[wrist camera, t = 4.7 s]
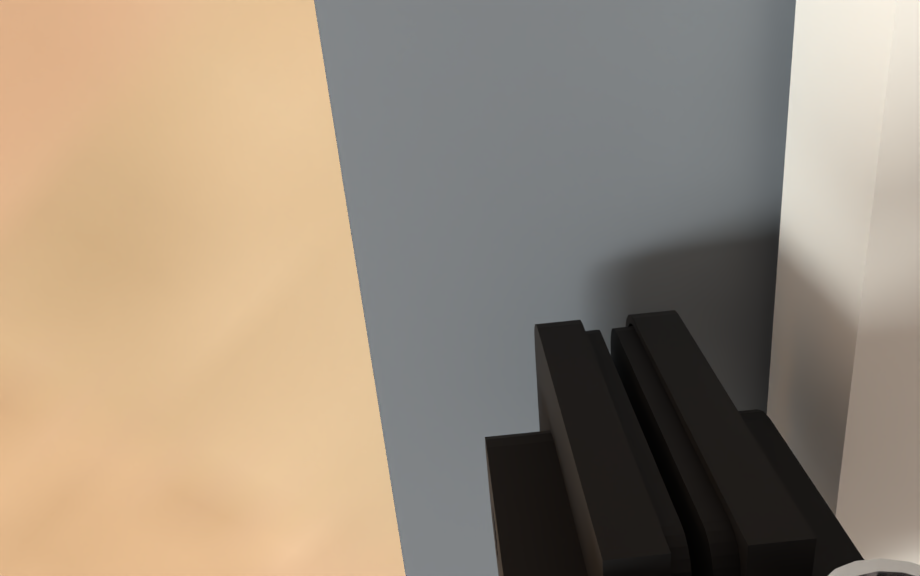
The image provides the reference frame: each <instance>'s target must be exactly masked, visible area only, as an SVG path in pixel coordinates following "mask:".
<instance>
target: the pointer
mask: <svg viewBox="0 0 920 576" xmlns="http://www.w3.org/2000/svg"><path fill="white" fill-rule="evenodd" d="M767 416H768V417H769V418H770V419H771V421H772V422H773V424H774V425H775V427H776V428H777V430H778V431H779V433H780V434H781V436H782V437H783V439H784V440H785V442H786V443H787V445H788V446H789V448H790V449H791V451H792V452H793V454H794V455H795V457H796V458H797V460H798V461H799V463H800V464H801V466H802V467H803V469H804V470H805V472H806V473H807V475H808V476H809V478H810V479H811V481H812V482H813V484H814V485H815V487H816V488H817V490H818V491H819V493H820V494H821V496H822V497H823V499H824V500H825V502H826V503H827V505H828V506H829V508H830V509H831V511H832V512H833V514H834V515H835V517H836V518H837V520H838V521H839V523H840V524H841V526H842V527H843V529H844V530H845V532H846V533H847V535H848V536H849V538H850V539H851V541H852V542H853V544H854V545H855V547H856V548H857V550H858V551H859V553H860V554H861V556H862V557H863V559H864V560H870V559H880V558H881V559H890V560H899V561H907V562H912V563H915V564H918V565H920V0H796V9H795V23H794V37H793V51H792V65H791V79H790V93H789V107H788V121H787V135H786V149H785V163H784V177H783V192H782V206H781V220H780V234H779V248H778V262H777V276H776V290H775V304H774V318H773V332H772V346H771V360H770V374H769V388H768V402H767Z"/></svg>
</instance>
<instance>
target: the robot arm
mask: <svg viewBox="0 0 920 576" xmlns="http://www.w3.org/2000/svg"><path fill="white" fill-rule="evenodd" d="M534 340H535V358H536V376H537V393H538V411H539V428H540V431H539V432H529V433H519V434H509V435H500V436H490V437H485V448H486V460H487V471H488V482H489V493H490V503H491V513H492V523H493V532H494V541H495V550H496V559H497V567H498V575H499V576H920V565H918V564H915V563H912V562H907V561H899V560H890V559H881V558H880V559H870V560H864V559H863V557H862V556H861V554H860V553H859V551H858V550H857V548H856V547H855V545H854V544H853V542H852V541H851V539H850V538H849V536H848V535H847V533H846V532H845V530H844V529H843V527H842V526H841V524H840V523H839V521H838V520H837V518H836V517H835V515H834V514H833V512H832V511H831V509H830V508H829V506H828V505H827V503H826V502H825V500H824V499H823V497H822V496H821V494H820V493H819V491H818V490H817V488H816V487H815V485H814V484H813V482H812V481H811V479H810V478H809V476H808V475H807V473H806V472H805V470H804V469H803V467H802V466H801V464H800V463H799V461H798V460H797V458H796V457H795V455H794V454H793V452H792V451H791V449H790V448H789V446H788V445H787V443H786V442H785V440H784V439H783V437H782V436H781V434H780V433H779V431H778V430H777V428H776V427H775V425H774V424H773V422H772V421H771V419H770V418H769V417H768V416H767V415H766V413H765V412H764V411H761V410H758V409H754V410H745V411H738V410H737V408H736V407H735V405H734V403H733V402H732V400H731V399H730V397H729V395H728V394H727V392H726V390H725V389H724V387H723V386H722V384H721V382H720V381H719V379H718V378H717V376H716V374H715V373H714V371H713V369H712V368H711V366H710V365H709V363H708V361H707V360H706V358H705V356H704V355H703V353H702V352H701V350H700V348H699V347H698V345H697V343H696V342H695V340H694V339H693V337H692V335H691V334H690V332H689V330H688V329H687V327H686V326H685V324H684V322H683V321H682V319H681V317H680V316H679V314H678V313H677V312H676V311H675V310H670V311H660V312H650V313H641V314H631V315H628V317H627V319H626V327H619V328H612V330H611V355H610V353H609V350H608V348H607V345H606V343H605V341H604V338H603V336H602V334H601V332H600V330H590V331H585V329H584V326H583V324H582V322H581V320H571V321H561V322H552V323H542V324H535V327H534Z"/></svg>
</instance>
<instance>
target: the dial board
mask: <svg viewBox="0 0 920 576" xmlns="http://www.w3.org/2000/svg"><path fill="white" fill-rule="evenodd" d="M314 3H315V9H316V15H317V22H318V28H319V34H320V41H321V47H322V53H323V59H324V66H325V72H326V78H327V84H328V91H329V97H330V103H331V110H332V116H333V122H334V128H335V135H336V141H337V147H338V153H339V160H340V166H341V172H342V179H343V185H344V191H345V197H346V204H347V210H348V216H349V222H350V229H351V235H352V241H353V248H354V254H355V260H356V266H357V273H358V279H359V285H360V291H361V298H362V304H363V310H364V317H365V323H366V329H367V335H368V342H369V348H370V354H371V360H372V367H373V373H374V379H375V386H376V392H377V398H378V404H379V411H380V417H381V423H382V429H383V436H384V442H385V448H386V455H387V461H388V467H389V473H390V480H391V486H392V492H393V498H394V505H395V511H396V517H397V524H398V530H399V536H400V542H401V549H402V555H403V561H404V567H405V574H406V576H499V575H498V567H497V559H496V550H495V541H494V532H493V523H492V513H491V503H490V493H489V482H488V471H487V460H486V448H485V437H490V436H500V435H509V434H519V433H529V432H539V431H540V428H539V411H538V393H537V376H536V358H535V340H534V327H535V324H542V323H552V322H561V321H571V320H581V322H582V324H583V326H584V329H585V331H590V330H600V332H601V334H602V336H603V338H604V341H605V343H606V345H607V348H608V350H609V353H610V355H611V330H612V328H619V327H626V319H627V317H628V315H631V314H641V313H650V312H660V311H670V310H675V311H676V312H677V313H678V314H679V316H680V317H681V319H682V321H683V322H684V324H685V326H686V327H687V329H688V330H689V332H690V334H691V335H692V337H693V339H694V340H695V342H696V343H697V345H698V347H699V348H700V350H701V352H702V353H703V355H704V356H705V358H706V360H707V361H708V363H709V365H710V366H711V368H712V369H713V371H714V373H715V374H716V376H717V378H718V379H719V381H720V382H721V384H722V386H723V387H724V389H725V390H726V392H727V394H728V395H729V397H730V399H731V400H732V402H733V403H734V405H735V407H736V408H737V410H738V411H745V410H754V409H758V410H761V411H764V412H765V413H766V415H767V402H768V388H769V374H770V360H771V346H772V332H773V318H774V304H775V290H776V276H777V262H778V248H779V234H780V220H781V206H782V192H783V177H784V163H785V149H786V135H787V121H788V107H789V93H790V79H791V65H792V51H793V37H794V23H795V9H796V0H314Z"/></svg>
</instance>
